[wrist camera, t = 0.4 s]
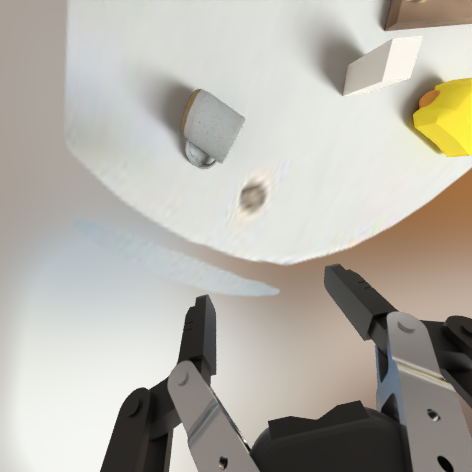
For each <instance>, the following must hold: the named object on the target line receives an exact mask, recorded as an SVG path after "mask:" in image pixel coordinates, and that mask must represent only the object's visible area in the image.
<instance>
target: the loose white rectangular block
mask: <svg viewBox="0 0 472 472" xmlns="http://www.w3.org/2000/svg"><path fill="white" fill-rule="evenodd" d="M422 39H423V36H414V37H403V38H393V39H391V40H390V41H388V42H386V43H384V44H383V45H381V46H379V47H378V48H376V49H374V50H373V51H371V52H369V53H368V54H366V55H364V56H362V57H361V58H359V59H357V60H356V61H354V62H352V63H351V64H349V65H348V69H347V74H346V80H345V86H344V92H343V96H348V95H358V94H365V93H368V92H371V91H374V90H377V89H380V88H383V87H386V86H389V85H392V84H395V83H398V82H401V81H404V80H407V79H410V77H411V74H412V71H413V68H414V64H415V61H416V58H417V55H418V52H419V49H420V45H421V42H422Z"/></svg>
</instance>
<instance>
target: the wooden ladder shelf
mask: <svg viewBox="0 0 472 472" xmlns="http://www.w3.org/2000/svg"><path fill="white" fill-rule="evenodd" d="M460 24H472V0H392V1H391V5H390V10H389V14H388V18H387V22H386V27H385V31H391V30H403V29H414V28H426V27H437V26H449V25H460Z"/></svg>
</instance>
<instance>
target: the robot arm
mask: <svg viewBox="0 0 472 472" xmlns="http://www.w3.org/2000/svg"><path fill="white" fill-rule="evenodd" d="M324 285H325V288H326V290H327V291H328V293H329V294H330V296H331V297H332V298H333V299H334V301H335V302H336V304H337V305H338V306H339V307H340V309H341V310H342V311H343V313H344V314H345V316H346V317H347V318H348V320H349V321H350V322H351V324H352V325H353V326H354V328H355V329H356V330H357V332H358V333H359V334H360V336H361V337H362V338H363V340H364V341H366V340H370V339H372V340H373V341H374V343H375V344H376V345H375V353H376V368H377V393H376V410H374V409H370V408H367V407H363V405H362V403H361V401H360V400H359V401H355V402H350V403H346V404H341V405H337V406H336V407H334V408H333V409H332V410H330V411H329V412H328V413H326V414H325V415H323V416H322V417H321V418H319V419H318V420H313V419H306V418H299V417H293V416H289V417H285V418H280V419H275V420H271V421H268V424H269V427H268V428H267V429H266V430H264V431H263V432H262V433H261V435H260V436H259V437H258V438H257V440H256V441H255V443H254V445H253V447H252V449H251V448H250V446H249V444H248V443H247V442H246V440H245V438H244V437H243V435H242V434H241V432H240V431H239V429H238V428H237V426H236V425H235V423H234V422H233V420H232V419H231V418H230V416H229V414H228V413H227V411H226V410H225V408H224V407H223V405H222V403H221V402H220V400H219V399H218V397H217V396H216V394H215V392H214V391H213V389H212V388H211V386H210V383H211V380H210V379H211V376H212V375H216V312H215V308H214V306H213V304H212V302H211V300H210V297H209V295H203V296H199V297H197V298H196V303H195V306H193V307H190V308H189V310H188V312H187V314H186V317H185V325H184V329H183V335H182V341H181V347H180V353H179V358H178V362H177V365H176V366H175V368H174V369H173V370H172V372H171V374H170V375H169V376H168V377H167V378H166V379H165V380H163V381H162V382H160V383H159V384H157V385H156V386H154V387H152V388H151V389H149V390H148V389H146V388H138V389H136V390H134V391H133V392H132V393H131V394H130V395H129V396H128V397H127V398H126V400H125V401H124V403H123V404H122V406H121V408H120V411H119V414H118V417H117V420H116V423H115V426H114V429H113V433H112V436H111V439H110V442H109V445H108V449H107V451H106V455H105V458H104V461H103V464H102V467H101V470H100V472H169V466H170V457H171V447H172V438H173V429H174V428H175V427H176V426H178V425H179V424H180V423H183V426H184V428H185V430H186V433H187V436H188V446H189V450H190V452H191V455H192V457H193V460H194V462H195V464H196V467H197V469H198V472H472V439H471V436H470V433H469V430H468V427H467V424H466V421H465V418H464V415H463V412H462V409H461V406H460V403H459V400H458V397H457V394H456V392H455V390H456V391H457V393H458V394H459V395H460V396H461V397H462V398H463V399H464V400H465V401H466V403H468V405H469V406H470V407H471V408H472V319H471V318H467V317H463V316H450V317H448V318H447V320H446V321H445V322H435V321H423V320H418V319H417V318H415V317H414V316H412V315H409V314H407V313H404V312H399V311H398V310H397V309H395V308H394V307H393V306H392V305H391V304H390V303H389V302H388V301H387V300H386V299H384V298H383V297H382V296H381V295H380V294H379V293H378V292H377V291H376V290H375V289H374V288H372V287H371V286H370V285H369V284H368V283H367V282H366V281H365V280H364V279H363V278H362V277H361V276H360V275H359V274H357V273H355V272H353V271H351V270H350V269H349V270H345V269H344V268H343V267H342V266H341V265H340V264H333V265H329V266H326V267H325V277H324ZM441 375H442V376H443V377H444V378H445V379H446V380H447V381H445V380H444V379H443V378H442V376H441ZM454 389H455V390H454Z"/></svg>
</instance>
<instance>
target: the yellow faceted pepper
mask: <svg viewBox="0 0 472 472" xmlns="http://www.w3.org/2000/svg"><path fill="white" fill-rule="evenodd" d="M419 108H420V109H419V110H418V111H416V112H415V113H414V114H413V121H414V126H415V128H416V129H417V130H419V131H420V132H421V133H422V134H424V135H425V136H426V137H427V138H429V139H430V140H431V141H433V142H434V143H435V144H436V145H437V146H438V147H439V148H440V150H441V151H442V152H443V153H444V154H445V155H446V156H447V157H456V156H469V155H472V78H466V79H458V80H452V81H449V82H445V83H442V84H439V85H436V86H435V90H431V91H429V92H427V93H426V94H425V95H423V96H422V97H421V99H420V100H419Z"/></svg>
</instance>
